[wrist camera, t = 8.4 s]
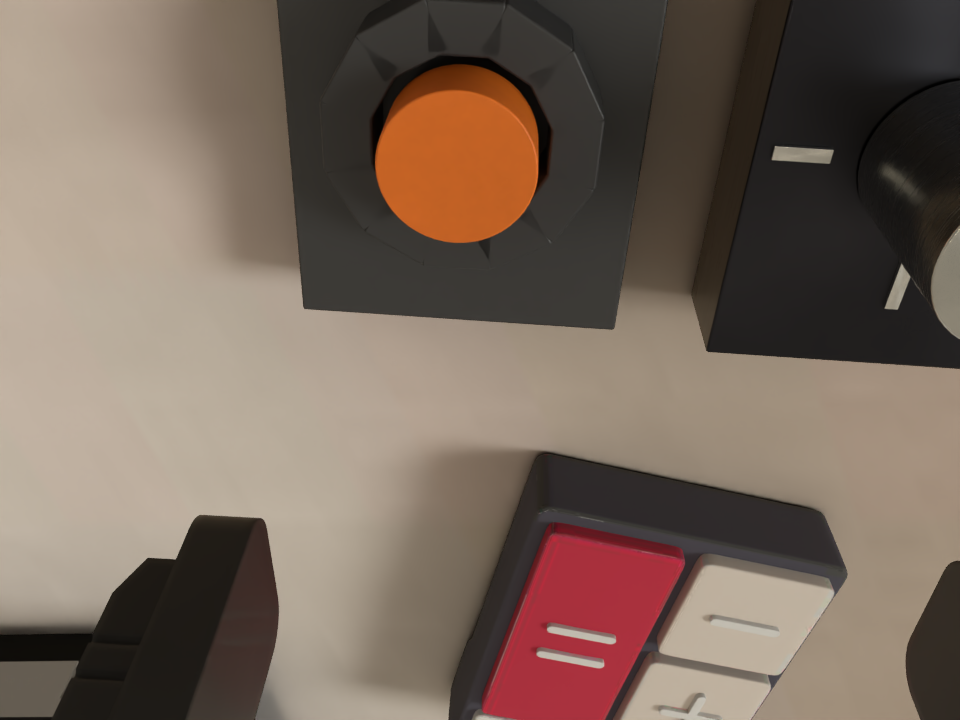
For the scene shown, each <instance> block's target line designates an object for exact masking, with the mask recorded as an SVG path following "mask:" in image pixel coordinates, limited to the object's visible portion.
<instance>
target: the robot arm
mask: <svg viewBox="0 0 960 720" xmlns="http://www.w3.org/2000/svg"><path fill="white" fill-rule="evenodd" d="M278 617H279V604H278V595H277V589H276V583H275V577H274V570H273V564H272V558H271V552H270V546H269V539H268V533H267V528H266V524H265V522H264V520H263V519H261V518H246V517H228V516H211V515H199V516H197V517H196V518H195V519H194V521H193V522H192V524H191V526H190V528H189V530H188V533H187V535H186V537H185V540H184V542H183V544H182V547H181V549H180V551H179V554H178V556H177V558H176V560H174V559H157V558H147V559H146V560H145V561H144V562H143V563H142V564H141V565H140V566H139V567H138V568H137V569H136V570H135V571H134V572H133V573H132V574H131V575H130V576H129V577H128V578H127V579H126V580H125V581H124V582H123V583H122V584H121V585H120V586H119V587H118V588H117V589H116V590H115V591H114V592H113V593H112V595H111V597H110V599H109V601H108V603H107V605H106V607H105V610H104V612H103V614H102V616H101V618H100V620H99V622H98V624H97V626H96V628H95V630H94V632H93V639H92V642H91V643H88V645H87V647H86V649H85V651H84V653H83V655H82V657H81V659H80V661H79V663H78V665H77V667H76V674H75V677H74V678H71V680H70V682H69V684H68V686H67V688H66V690H65V692H64V694H63V696H62V698H61V700H60V702H59V704H58V706H57V708H56V710H55V713H54V715H53V717H52V719H51V720H255V716H256V713H257V709H258V706H259V702H260V698H261V695H262V691H263V688H264V684H265V681H266V677H267V674H268V670H269V666H270V663H271V659H272V656H273V652H274V648H275V643H276V637H277V629H278ZM906 675H907V681H908V686H909V690H910V693H911V696H912V699H913V701H914V704H915V707H916V709H917V712H918V714H919V717H920V719H921V720H960V561H954V562H952V563H950V564H949V565H948V566H947V567H946V569H945V570H944V572H943V574H942V576H941V578H940V580H939V582H938V584H937V586H936V588H935V590H934V592H933V594H932V596H931V598H930V600H929V602H928V604H927V606H926V608H925V610H924V612H923V614H922V616H921V618H920V619H919V621H918V623H917V625H916V627H915V629H914V631H913V633H912V635H911V637H910V640H909V642H908V646H907V652H906Z"/></svg>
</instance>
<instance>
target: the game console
mask: <svg viewBox="0 0 960 720" xmlns="http://www.w3.org/2000/svg"><path fill="white" fill-rule="evenodd" d="M92 639H93V634H68V635H3V636H0V720H51V719H52V717H53V715H54V713H55V710H56V708H57V706H58V704H59V702H60V700H61V698H62V696H63V694H64V692H65V690H66V688H67V686H68V684H69V682H70V680H71V678H74V677H75V674H76V667H77V665H78V663H79V661H80V659H81V657H82V655H83V653H84V651H85V649H86V647H87V645H88V643H91V642H92Z"/></svg>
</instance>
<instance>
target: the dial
mask: <svg viewBox="0 0 960 720" xmlns="http://www.w3.org/2000/svg"><path fill="white" fill-rule="evenodd" d="M858 190H859V195H860V198H861V202H862V204H863V206H864V208H865V210H866V211H867V213H868V214H869V216H870V217H871V219H872V220H873V222H874V223H875V225H876V226H877V228H878V229H879V231H880V232H881V234H882V235H883V237H884V238H885V240H886V241H887V243H888V244H889V246H890V247H891V249H892V250H893V252H894V253H895V255H896V256H897V258H898V259H899V261H900V262H901V264H902V265H903V267H904V268H905V270H906V271H907V273H908V274H909V276H910V277H911V279H912V280H913V282H914V283H915V285H916V286H917V288H918V289H919V291H920V292H921V294H922V295H923V297H924V298H925V300H926V301H927V302H928V304H929V305H930V307H931V308H932V310H933V311H934V313H935V314H936V316H937V317H938V319H939V320H940V322H941V323H942V324H943V326H944V327H945V328H946V329H947V330H948V331H949V332H950V333H951V334H953V335H954V336H955V337H957V338H958V339H960V80H959V81H954V82H948V83H944V84H941V85H938V86H934V87H932V88H930V89H927V90H925V91H922V92H921V93H919V94H917V95H915V96H913V97H911V98H910V99H908V100H907V101H906V102H904V103H903V104H901V105H900V106H899V107H897V108H896V109H895V110H894V111H893V112H891V113H890V114H889V115H888V116H887V118H886V119H885V120H884V121H883V122H882V123H881V124H880V125H879V127H878V128H877V129H876V130H875V132H874V133H873V135H872V137H871V138H870V140H869V141H868V143H867V146H866V148H865V150H864V152H863V155H862V158H861V161H860V165H859V171H858Z"/></svg>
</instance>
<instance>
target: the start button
mask: <svg viewBox="0 0 960 720" xmlns="http://www.w3.org/2000/svg"><path fill="white" fill-rule="evenodd" d="M375 170H376V177H377V182H378V185H379V188H380V191H381V193H382V195H383V197H384V199H385V201H386V203H387V204H388V206H389V207H390V208H391V210H392V211H393V212H394V213H395V214H396V215H397V217H398V218H399V219H400V220H402V221H403V222H404V223H405V224H406V225H407V226H409V227H410V228H412V229H413V230H415V231H417V232H419V233H421V234H423V235H425V236H427V237H430V238H433V239H436V240H440V241H444V242H452V243H467V242H475V241H479V240H484V239H487V238H489V237H492V236H494V235H496V234H498V233H500V232H502V231H504V230H505V229H507V228H508V227H509V226H511V225H512V224H513V223H514V222H515V221H516V220H518V218H519V217H520V216H521V215H522V214H523V213H524V211H525V210H526V208H527V207H528V205H529V204H530V202H531V199H532V197H533V195H534V192H535V189H536V186H537V180H538V129H537V124H536V120H535V117H534V114H533V112H532V109H531V107H530V105H529V104H528V102H527V100H526V99H525V97H524V96H523V95H522V93H521V92H520V91H519V90H518V89H517V88H516V87H515V86H514V85H513V84H512V83H511V82H509V81H508V80H507V79H505V78H504V77H502V76H500V75H499V74H497V73H495V72H493V71H490V70H488V69H486V68H482V67H478V66H474V65H467V64H452V65H445V66H441V67H437V68H433V69H431V70H429V71H426V72H424V73H422V74H421V75H419V76H417V77H416V78H414V79H413V80H412V81H411V82H409V83H408V84H407V85H406V86H405V87H404V88H403V90H402V91H401V92H400V93H399V95H398V96H397V97H396V99H395V101H394V103H393V105H392V107H391V109H390V111H389V114H388V117H387V119H386V122H385V125H384V127H383V130H382V133H381V135H380V138H379V141H378V144H377V149H376V154H375Z"/></svg>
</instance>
